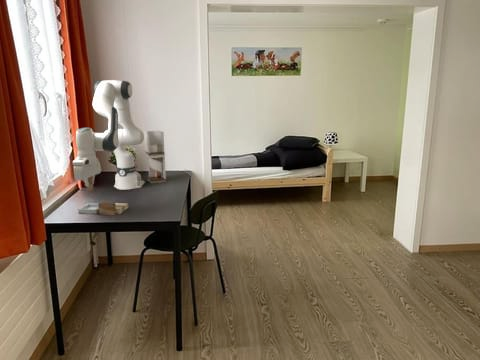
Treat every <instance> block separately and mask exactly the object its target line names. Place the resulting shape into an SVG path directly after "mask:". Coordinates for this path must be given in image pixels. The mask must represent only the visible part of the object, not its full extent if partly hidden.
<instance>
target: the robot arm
mask: <svg viewBox="0 0 480 360" xmlns="http://www.w3.org/2000/svg"><path fill="white" fill-rule="evenodd" d="M93 91H94V94H93V99H92V108H93V110H94V111H95V112H96V113H97V114H98V115H99V116H102V117H105V118H106V119H108V123H107V125H108V127H107V130H105V131H104V132H94V131H93V129H92V128H91V127H81V128H78V129H77V130H76V132H75V146H76V148H77V156H76V157H75V159H74V160H72V166H73V176H74V179H75V181H83V183H84V186H85V187H87V186H89V185H90V183H89V182H88V178H89V177H91V176H92V180H93V185H94V184H95V177H96V175H98V174H101V172H102V166H101V161H99V160H100V159H99V158H98V157H97V156H96V152H109V153H112V152H113V154H114V155H115V160H116V161H115V162H116V169H115V170H116V174H115V176H114V177H115V178H114V179H115V183H114V185H113V188H116V189H117V190H123V191H124V190H134V189H140V188H142V187H143V185H144V184H145V183H146V181H145V180H142V175H141V174H140V173H139V172H137V168H138V165H135V157H134V156H135V155H134V154H133V153H132V152H131V151H129V150H127V149H125V148H124V146H125V147H126V146H137V145H141V144H142V143H144V141H145V133H144V131H142V130H141V129H140V128H138V127H137V126H136V125H135V123H134V122H133V119H132V114H131V107H130V101H129V100H130V98H131V97H132V95H133V86H132V84H131V83H130V82H129V81H126V80H118V79H109V80H103V79H102V80H97V81H96V82H95V83H94V86H93ZM119 125H120V126H122V127H123V128H119Z"/></svg>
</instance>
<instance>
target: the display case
mask: <svg viewBox="0 0 480 360" xmlns="http://www.w3.org/2000/svg"><path fill="white" fill-rule="evenodd" d="M164 134H165V133H164V131H162V130H146V131H145V130H144V144H145V156H146V157H147V162H148V163H147V165H148V176H147V181H148V182H149V183H150V184H157V183H158V184H159V183H165V182H167V173H166V171H167V170H166V155H165V154H166V153H165V152H166V151H165V139H164V138H165V137H164V136H165V135H164Z"/></svg>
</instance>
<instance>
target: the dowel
mask: <svg viewBox="0 0 480 360" xmlns="http://www.w3.org/2000/svg"><path fill="white" fill-rule="evenodd" d="M88 182H89V183H90V185H89V186H86V189H87V192H94V184H93V180H92V176H91V177H89V178H88Z"/></svg>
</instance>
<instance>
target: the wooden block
mask: <svg viewBox="0 0 480 360" xmlns="http://www.w3.org/2000/svg"><path fill="white" fill-rule="evenodd" d="M116 203H117V202H111V201H110V202H109V201H103V202H102V201H101V202H99V203H97V204H98V206H99V213H98V214H99V215H101V216H102V215H103V216H115V215H117V214H116Z"/></svg>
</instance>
